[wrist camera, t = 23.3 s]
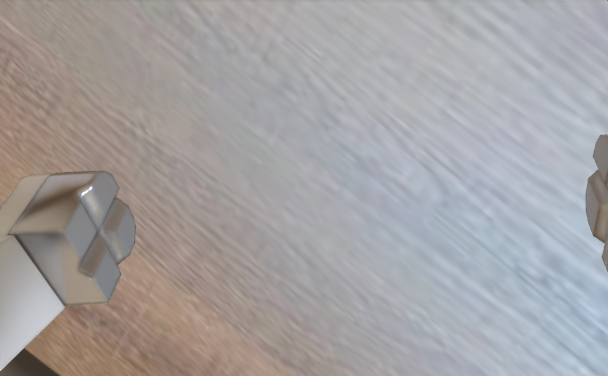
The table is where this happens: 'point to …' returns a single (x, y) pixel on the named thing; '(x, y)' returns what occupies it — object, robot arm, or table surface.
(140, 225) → the table surface
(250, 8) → the table surface
